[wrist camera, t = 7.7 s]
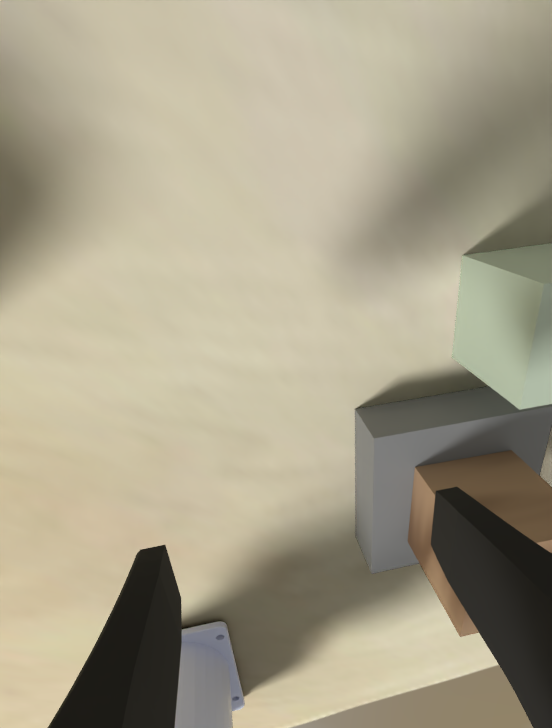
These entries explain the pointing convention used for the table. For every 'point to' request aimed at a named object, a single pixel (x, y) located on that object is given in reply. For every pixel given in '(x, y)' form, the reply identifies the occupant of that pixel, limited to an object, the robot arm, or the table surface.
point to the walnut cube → (494, 491)
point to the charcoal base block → (429, 457)
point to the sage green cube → (507, 322)
